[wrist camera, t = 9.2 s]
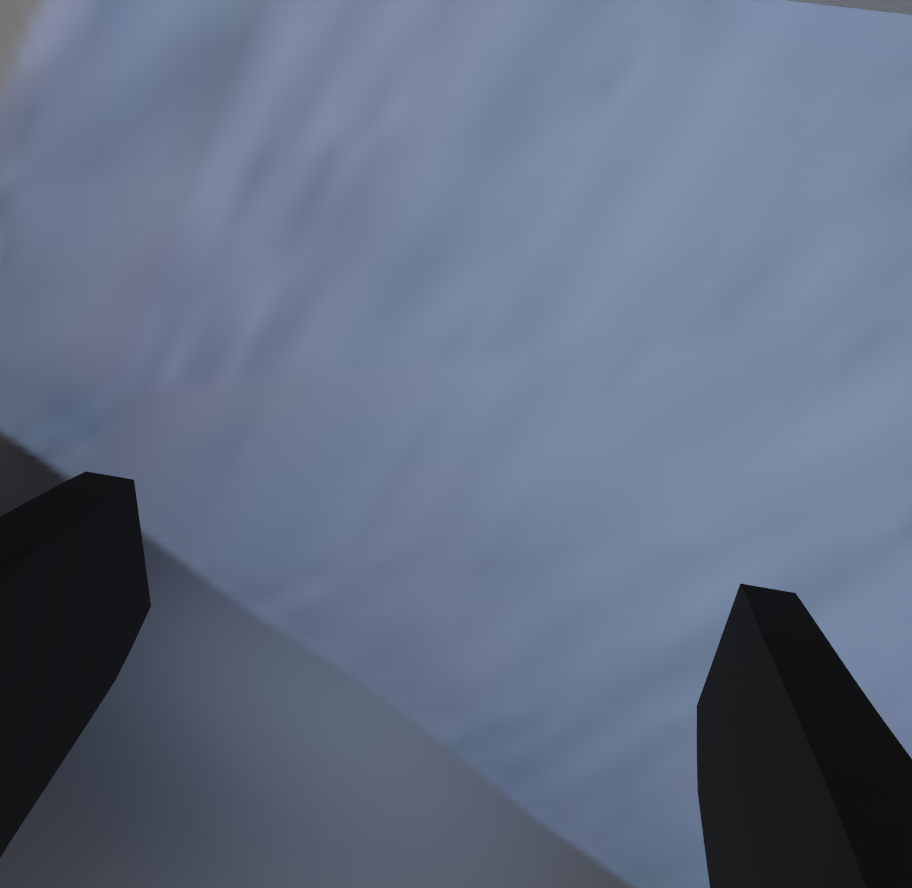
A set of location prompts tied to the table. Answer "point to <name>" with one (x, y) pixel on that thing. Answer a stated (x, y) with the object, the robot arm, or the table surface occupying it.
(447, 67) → the table surface
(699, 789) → the robot arm
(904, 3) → the shaft block
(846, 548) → the table surface
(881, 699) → the table surface
